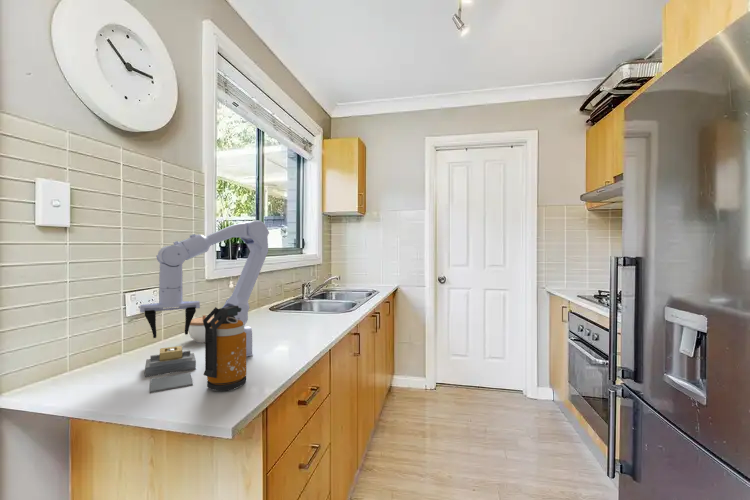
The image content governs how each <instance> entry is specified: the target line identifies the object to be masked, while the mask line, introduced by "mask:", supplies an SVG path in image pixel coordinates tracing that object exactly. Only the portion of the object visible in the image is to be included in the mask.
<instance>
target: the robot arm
mask: <svg viewBox="0 0 750 500" xmlns="http://www.w3.org/2000/svg"><path fill="white" fill-rule="evenodd" d="M269 234H270V231H269V229H268V227H267V225H266V224H265V223H264V222H263V221H262V220H252V221H242V222H240V223H235V224H231V225H229V226H226V227H223V228H222V229H219V230H217V231H215V232H212V233H210V234H207V235H206V236H205V235H203V234H199V233H198V234H196V233H193V234H190V235H189V237H187V238H186V239H183V240H180V241H179V240H175V241H173V244H172V245H165V246H163V247H161V248H159V250H158V252H157V255H156V260H157V262H158V263H159V272H158V275H159V277H158V288H159V289H158V290H159V291H158V294H159V295H158V296H159V297H158V299H159V302H157V303H156V302H154V303H147V304H140V305H139V313H141V314H142V313H144V316H145V319H146V320H147V323H148V324H149V326H150V329H151V332H152V338H153V339H156V338H157V322H156V321H157V314H156V313H157V312H163V311H175V310H176V311H177V310H185V311H184V313H185V316H184V317H185V320H184V321H185V324H184V335H186V336H187V335H188V334H189V326H190V323H191V320H192V319H194V316H195V313H196V312H197V310H196V309H200V307H201V306H200V305H201V302H200V300H194V301H193V300H191V301H189V300H188V301H184V300H183V298H184V297H183V285H184V284H183V281H184V280H183V278H184V277H183V264H184V263H185V262H186V261H188V260H190V259H193V258H196V257H197V256H200V255H202V254H205V253H208V251H209V250H210V247H211V246H213V245H216V244H218V243H222V242H224V241H226V240H229V239H232V238H240V239H241V240H242V241H243V242H244V243H245V245H246V246H247V248H248V250H249V254H248V256H247V259H246V261H245V263H244V266H243V268H242V270H241V272H240V275H239V277H238V280H237V281H236V285H235V287H234V290H233V291H232V293H231V296H229V298H227V299H226V301H224V302H225V303H223V304H224V305H222V307H221V308H224V307H228V306H238V308H241V312H238V315H236V316H234V317H235V319H237V320H241V321H242V322H243V324H244V332H245V333H246V358H247V357H251V356H253V355H254V354H253V330H252V326H248V325H247V326H246V324H247V323H248V321H249V311H250V303H249V299H250V297H251V294H252V293H253V292H252V291H253V289H254V287H255V285H256V282H257V280H258V278H259V275H260V272H261V270H262V269H263V265H264V263H265V260H266V257H267V256H268V253H269V243H268V242H269V241H268V238H269V237H268V236H269Z"/></svg>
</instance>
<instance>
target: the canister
mask: <svg viewBox="0 0 750 500" xmlns="http://www.w3.org/2000/svg"><path fill="white" fill-rule="evenodd" d="M238 312H241V308H238V306H228V307H224V308H222V307H220V308H218V307H214V308H213V310H211V311H210V313H208V315H206V318H205V319H204V320H203V323H204V327H205V342H204V343H205V345H204V346H205V352H204V354H205V355H204V356H205V357H204V358H205V359H204V361H205V362H204V363H205V364H204V367H205V370H204V372H203V376H205V377H206V379H207V382H206V387H207V388H208V389H209V390H213V391H217V392H227V391H232V390H235V389H238V388H241V387H242V386H243V385H244V384H246V383H247V357H246V333H245V332H244V324H243V322H242V321H241V320H237V319H235V317H234V316H236V315H238ZM211 317H214V318H213V319H212V320H211V321H210V322H209V323H207V321H208V320H209V319H210V318H211ZM217 320H218V321H217Z"/></svg>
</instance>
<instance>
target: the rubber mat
mask: <svg viewBox="0 0 750 500" xmlns="http://www.w3.org/2000/svg"><path fill="white" fill-rule="evenodd" d="M193 383H194V382H193V378H192V373H191V372H185V373H180V374H172V375H167V376H162V377H155V378H151V379H150V388H149V393H150V394H151V393H152V394H153V393H156V392H157V393H158V392H161V391H167V390H173V389H179V388H180V389H181V388H184V387H185V388H186V387H190V386H193V385H194V384H193Z"/></svg>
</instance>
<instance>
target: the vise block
mask: <svg viewBox="0 0 750 500" xmlns="http://www.w3.org/2000/svg"><path fill="white" fill-rule="evenodd" d="M173 350H175V349H168V350H167V351H173ZM196 364H197V361H196V357H195V353H193V352H192V353H191V350H189V349H188V350H182V358H178V359H171V360H164V361H160V353H159V354H153V355H150V358H149V359H146V361H145V366H144V378H149V377H155V376H160V375H169V374H174V373H180V372H187V371H193V370H196V369H197V368H196V367H197V365H196Z"/></svg>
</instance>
